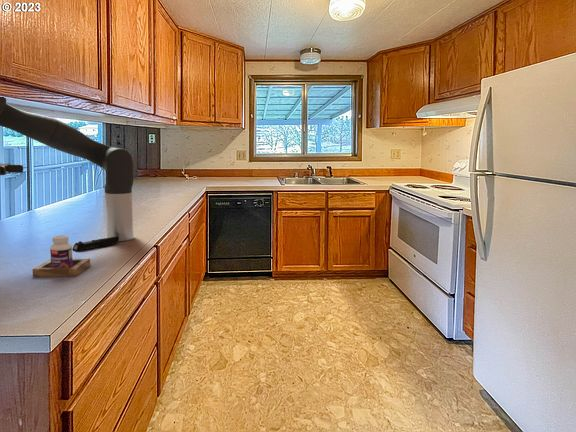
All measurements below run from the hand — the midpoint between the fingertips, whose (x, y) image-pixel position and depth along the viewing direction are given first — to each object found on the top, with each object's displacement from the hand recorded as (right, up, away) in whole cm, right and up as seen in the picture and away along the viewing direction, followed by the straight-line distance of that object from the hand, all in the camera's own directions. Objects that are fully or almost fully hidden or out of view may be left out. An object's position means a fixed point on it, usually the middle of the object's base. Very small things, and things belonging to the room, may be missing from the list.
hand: (14, 169), depth 123 cm
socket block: (+11, -28, +5) cm, 30 cm away
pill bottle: (+10, -28, +5) cm, 30 cm away
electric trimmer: (+8, -23, +33) cm, 41 cm away
